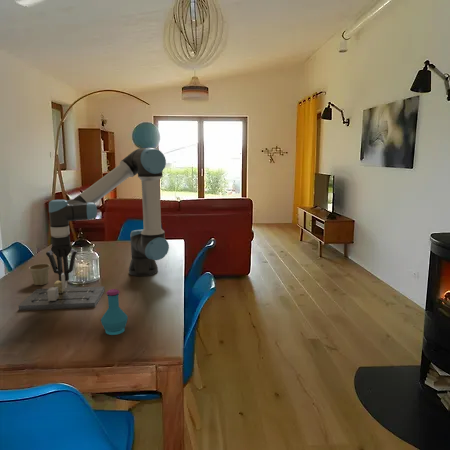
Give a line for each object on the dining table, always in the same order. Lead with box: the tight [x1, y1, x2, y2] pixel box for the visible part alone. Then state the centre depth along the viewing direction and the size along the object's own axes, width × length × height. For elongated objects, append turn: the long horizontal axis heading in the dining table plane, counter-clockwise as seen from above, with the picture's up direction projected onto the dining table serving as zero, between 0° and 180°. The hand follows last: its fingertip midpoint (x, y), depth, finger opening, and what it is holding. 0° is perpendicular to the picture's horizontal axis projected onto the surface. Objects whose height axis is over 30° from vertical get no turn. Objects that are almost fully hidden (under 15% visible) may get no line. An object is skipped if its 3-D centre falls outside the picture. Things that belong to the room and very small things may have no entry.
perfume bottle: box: [100, 288, 129, 336], centre depth 141 cm, size 9×9×15 cm
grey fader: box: [47, 286, 59, 301], centre depth 166 cm, size 3×4×4 cm
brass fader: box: [53, 279, 65, 293], centre depth 175 cm, size 3×4×4 cm
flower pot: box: [28, 263, 51, 286], centre depth 193 cm, size 9×9×9 cm
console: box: [18, 286, 105, 311], centre depth 172 cm, size 30×20×2 cm, turn 96°
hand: (64, 287), depth 175 cm, fingers closed
